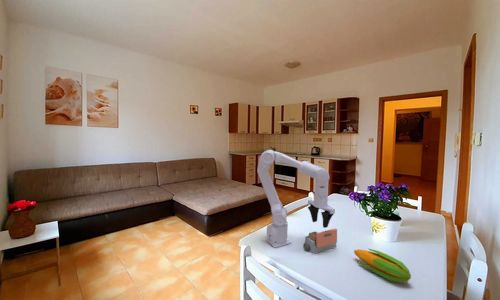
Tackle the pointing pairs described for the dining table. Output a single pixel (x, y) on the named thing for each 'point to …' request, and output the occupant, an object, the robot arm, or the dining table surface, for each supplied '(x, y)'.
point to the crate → (313, 236)
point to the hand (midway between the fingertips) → (319, 224)
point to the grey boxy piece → (312, 248)
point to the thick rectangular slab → (326, 238)
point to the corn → (384, 265)
